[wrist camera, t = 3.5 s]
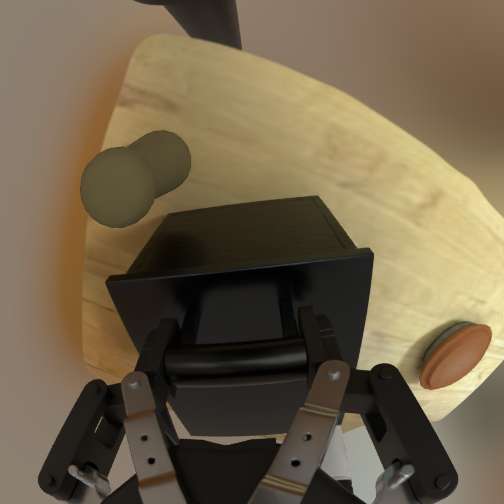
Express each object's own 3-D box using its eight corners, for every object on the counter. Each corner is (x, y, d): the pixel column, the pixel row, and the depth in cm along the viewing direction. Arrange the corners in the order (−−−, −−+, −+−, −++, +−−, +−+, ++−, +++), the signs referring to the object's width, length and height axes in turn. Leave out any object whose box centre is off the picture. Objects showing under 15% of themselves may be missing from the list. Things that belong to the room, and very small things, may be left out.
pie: (396, 374, 40) (405, 396, 35) (451, 304, 33) (467, 325, 28) (446, 375, 42) (455, 393, 38) (493, 317, 35) (507, 334, 31)
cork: (196, 187, 25) (162, 236, 16) (138, 197, 26) (82, 247, 16) (185, 124, 23) (140, 132, 13) (125, 138, 23) (56, 159, 13)
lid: (109, 274, 15) (65, 340, 10) (369, 246, 14) (417, 313, 9) (191, 429, 23) (185, 477, 18) (340, 418, 23) (350, 467, 18)
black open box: (168, 213, 27) (115, 288, 15) (318, 195, 26) (367, 262, 15) (204, 342, 35) (191, 429, 23) (318, 331, 34) (340, 417, 23)
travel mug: (295, 386, 40) (309, 505, 22) (336, 383, 40) (361, 496, 22) (291, 406, 42) (301, 512, 25) (328, 403, 43) (347, 504, 25)
